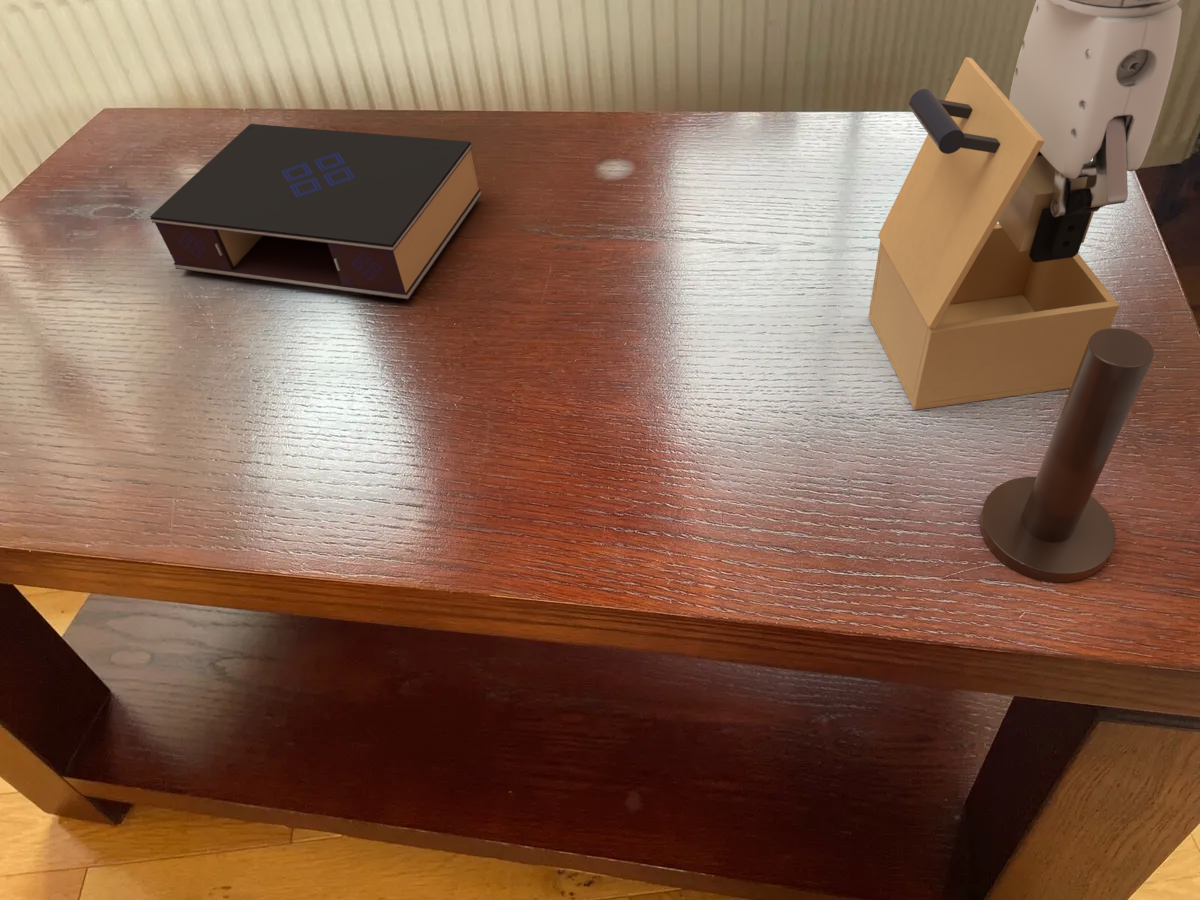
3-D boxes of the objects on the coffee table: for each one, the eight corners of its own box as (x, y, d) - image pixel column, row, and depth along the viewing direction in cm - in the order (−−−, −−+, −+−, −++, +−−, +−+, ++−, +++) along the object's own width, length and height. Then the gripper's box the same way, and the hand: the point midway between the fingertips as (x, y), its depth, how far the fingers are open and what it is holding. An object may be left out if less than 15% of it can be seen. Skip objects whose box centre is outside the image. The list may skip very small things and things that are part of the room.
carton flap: (972, 57, 62) (910, 46, 61) (1045, 141, 54) (976, 129, 53) (883, 236, 72) (828, 229, 71) (935, 328, 64) (874, 321, 63)
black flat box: (410, 307, 84) (391, 245, 79) (178, 275, 91) (148, 216, 86) (483, 201, 95) (470, 141, 90) (272, 180, 101) (250, 123, 97)
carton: (1024, 295, 78) (1048, 216, 72) (1087, 385, 70) (1120, 305, 64) (868, 316, 78) (879, 239, 72) (913, 410, 70) (931, 331, 64)
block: (1054, 207, 68) (1072, 150, 64) (1083, 243, 64) (1103, 185, 61) (993, 216, 68) (1007, 159, 64) (1019, 252, 64) (1035, 194, 61)
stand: (1107, 496, 63) (1196, 308, 51) (1114, 593, 58) (1216, 409, 46) (981, 477, 65) (1039, 292, 53) (977, 569, 60) (1041, 387, 48)
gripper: (1270, 15, 47) (1148, 301, 61) (1109, -93, 59) (1036, 167, 72) (1125, 35, 47) (1034, 317, 61) (992, -77, 59) (940, 180, 72)
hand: (1036, 233), depth 66 cm, fingers closed on block, 4 cm apart
